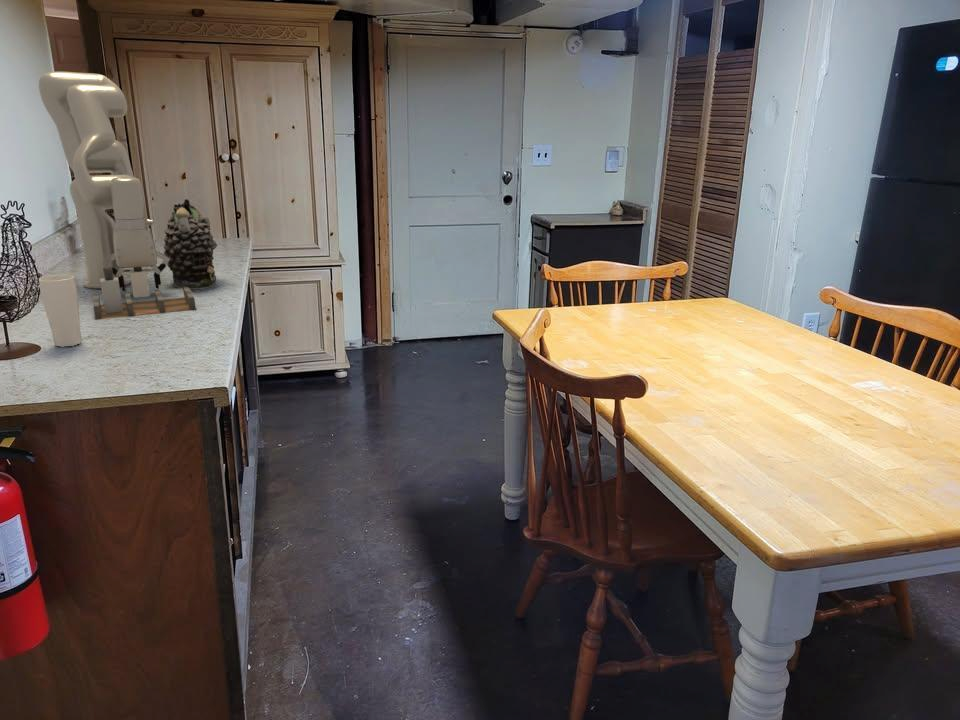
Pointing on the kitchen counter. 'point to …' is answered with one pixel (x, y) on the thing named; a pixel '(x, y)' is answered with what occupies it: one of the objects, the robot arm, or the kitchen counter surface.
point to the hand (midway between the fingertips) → (140, 288)
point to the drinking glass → (61, 308)
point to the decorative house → (190, 248)
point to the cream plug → (139, 282)
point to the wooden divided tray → (147, 305)
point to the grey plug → (111, 292)
